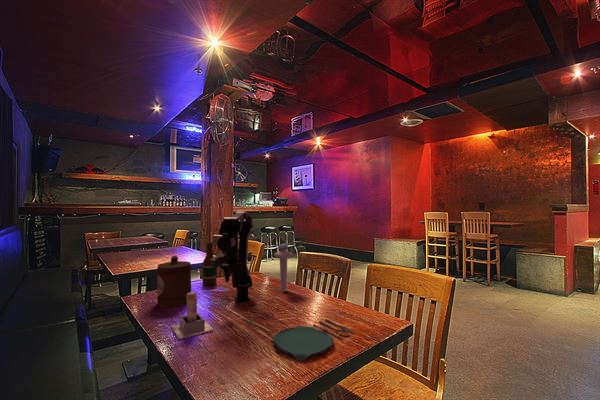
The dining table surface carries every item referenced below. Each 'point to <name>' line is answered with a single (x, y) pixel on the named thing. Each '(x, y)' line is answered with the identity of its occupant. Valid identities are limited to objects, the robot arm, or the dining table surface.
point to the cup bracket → (191, 327)
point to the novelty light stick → (283, 264)
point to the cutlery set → (306, 340)
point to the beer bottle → (209, 268)
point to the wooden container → (173, 283)
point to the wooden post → (191, 307)
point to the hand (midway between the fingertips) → (231, 284)
